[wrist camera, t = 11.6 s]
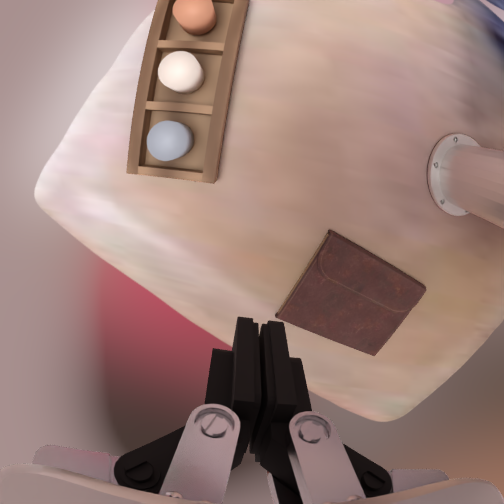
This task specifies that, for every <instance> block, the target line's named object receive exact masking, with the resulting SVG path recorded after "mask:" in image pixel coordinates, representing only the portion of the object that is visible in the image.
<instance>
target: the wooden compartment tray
mask: <svg viewBox="0 0 504 504" xmlns="http://www.w3.org/2000/svg"><path fill="white" fill-rule="evenodd" d="M175 2H176V0H158V2H157V5H156V9H155V12H154V16H153V19H152V23H151V27H150V31H149V35H148V39H147V43H146V47H145V52H144V56H143V61H142V66H141V71H140V76H139V81H138V87H137V93H136V99H135V105H134V111H133V118H132V126H131V134H130V142H129V151H128V161H127V173H128V174H138V175H148V176H157V177H166V178H175V179H183V180H191V181H199V182H206V183H213V184H214V183H215V182H216V181H217V175H218V169H219V162H220V155H221V149H222V143H223V136H224V130H225V124H226V118H227V112H228V106H229V101H230V95H231V89H232V84H233V78H234V73H235V68H236V63H237V57H238V52H239V47H240V42H241V38H242V33H243V28H244V23H245V19H246V14H247V9H248V5H249V0H212V3H213V7H214V10H215V14H216V23H215V25H214V27H213V28H212V29H211V30H210V31H208V32H207V33H204V34H201V35H191V34H188V33H186V32H185V31H184V30H183V29H182V27H181V26H180V24H179V23H178V21H177V19H176V18H175V16H174V15H173V5H174V3H175ZM176 51H185V52H188V53H190V54H192V55H193V56H194V57H195V58H196V60H197V61H198V62H199V64H200V65H201V67H202V68H203V70H204V81H203V83H202V85H201V86H200V87H199V88H198V89H197V90H196V91H194V92H192V93H189V94H180V93H177V92H175V91H174V90H172V89H170V88H169V87H167V86H165V85H164V84H163V83H162V82H161V81H160V79H159V76H158V68H159V65H160V63H161V61H162V60H163V59H164V58H165V57H166V56H167V55H169V54H170V53H173V52H176ZM162 121H174V122H179V123H183V124H185V125H187V126H188V127H189V128H190V129H191V131H192V133H193V136H194V143H193V146H192V148H191V150H190V151H189V152H188V153H187V154H186V155H184V156H182V157H180V158H176V159H173V160H169V161H162V160H158V159H156V158H155V157H153V156H152V155H151V153H150V152H149V150H148V147H147V136H148V133H149V131H150V130H151V128H152V127H153V126H154V125H156V124H157V123H159V122H162Z"/></svg>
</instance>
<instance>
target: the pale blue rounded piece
mask: <svg viewBox="0 0 504 504" xmlns="http://www.w3.org/2000/svg"><path fill="white" fill-rule="evenodd" d="M193 143H194V136H193V133H192V131H191V129H190V128H189V127H188V126H187V125H185V124H183V123H179V122H174V121H162V122H159V123H157V124H156V125H154V126H153V127H152V128H151V130H150V131H149V133H148V136H147V147H148V150H149V152H150V153H151V155H152V156H153V157H155V158H156V159H158V160H162V161H169V160H173V159H176V158H180V157H182V156H184V155H186V154H187V153H188V152H189V151H190V150H191V148H192V146H193Z"/></svg>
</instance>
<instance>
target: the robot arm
mask: <svg viewBox="0 0 504 504" xmlns="http://www.w3.org/2000/svg"><path fill="white" fill-rule="evenodd" d="M427 174H428V185H429V190H430V193H431V195H432V198H433V199H434V201H435V203H436V204H437V205H438V207H439V208H440V209H442V210H443V211H444V212H446V213H448V214H450V215H454V216H463V215H466V214H468V213H472V214H474V215H477V216H479V217H481V218H483V219H485V220H487V221H489V222H491V223H493V224H495V225H497V226H499V227H501V228H503V229H504V151H501V150H496V149H490V148H485V147H480V145H479V144H478V143H477V142H476V141H475V140H474V139H473V138H471V137H470V136H467V135H465V134H450V135H447V136H445V137H444V138H442V139H441V140H440V141H439V142H438V143H437V145H436V146H435V148H434V149H433V151H432V154H431V156H430V160H429V164H428V173H427ZM248 444H250V453H251V454H255V462H260V465H261V466H262V467H263V468H265V469H266V470H267V478H268V482H269V486H270V491H271V495H272V499H273V503H274V504H504V498H503V496H502V495H501V493H500V492H499V490H498V489H497V488H496V487H495V486H494V485H493V484H492V483H491V482H489V481H486V480H482V479H476V478H457V479H451V480H449V478H448V476H447V475H446V474H445V472H443V471H441V470H438V469H414V470H413V469H410V470H409V469H392V470H391V471H386V470H385V469H383V468H382V467H381V466H379V465H377V464H376V463H374V462H372V461H370V460H369V459H367V458H366V457H364V456H362V455H361V454H359V453H357V452H356V451H354V450H352V449H351V448H349V447H348V446H346V445H345V444H343V443H342V442H341V439H340V437H339V434H338V432H337V430H336V428H335V425H334V424H333V423H332V421H331V420H330V419H329V418H328V417H326V416H325V415H323V414H321V413H317V412H313V411H312V409H311V404H310V399H309V394H308V389H307V384H306V379H305V374H304V370H303V365H302V361H301V359H300V358H292V357H289V351H288V345H287V339H286V333H285V327H284V323H283V322H277V321H268V323H267V324H262V326H261V330H260V335H259V329H258V323H253V318H245V317H238V319H237V324H236V330H235V336H234V342H233V348H232V351H227V350H220V349H214V348H213V351H212V358H211V364H210V371H209V377H208V384H207V392H206V398H205V405H202V406H199V407H198V408H196V409H195V410H193V412H192V413H191V415H190V417H189V419H188V422H187V424H186V426H184V427H182V428H180V429H178V430H176V431H174V432H172V433H170V434H168V435H166V436H164V437H161V438H159V439H157V440H155V441H153V442H151V443H149V444H146V445H144V446H142V447H140V448H138V449H135V450H133V451H131V452H129V453H126V454H124V455H123V456H121V457H119V456H110V454H109V453H103V452H95V451H86V450H79V449H73V448H67V447H62V446H56V445H45V446H43V447H40V448H39V449H38V450H37V451H36V453H35V456H34V459H33V464H13V465H8V466H5V467H3V468H2V469H0V504H222V503H223V499H224V495H225V490H226V487H227V483H228V478H229V474H230V471H231V470H232V469H234V468H235V467H237V466H238V465H239V464H241V461H242V458H243V455H244V453H246V450H247V447H248Z"/></svg>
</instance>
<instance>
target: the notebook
mask: <svg viewBox="0 0 504 504" xmlns="http://www.w3.org/2000/svg"><path fill="white" fill-rule="evenodd" d="M328 232H329V233H330V234H328V233H327V235H326V236H325V238H324V240H323V241H322V243H321V245H320V246H319V248H318V249H317V251H316V253H315V254H314V256H313V258H312V259H311V261H310V262H309V264H308V266H307V267H306V269H305V270H304V272H303V274H302V275H301V277H300V278H299V280H298V281H297V283H296V285H295V286H294V288H293V289H292V291H291V292H290V294H289V295H288V297H287V299H286V300H285V302H284V303H283V305H282V306H281V308H280V309H279V311H278V312H277V314H275V317H276V318H278V319H281V320H283V321H286V322H288V323H291V324H293V325H295V326H298V327H300V328H303V329H305V330H308V331H310V332H313V333H315V334H318V335H320V336H323V337H325V338H328V339H330V340H333V341H336V342H338V343H341V344H343V345H346V346H349V347H351V348H354V349H357V350H359V351H362V352H365V353H367V354H370V355H373V356H375V355H376V354H377V353H378V351H379V350H380V349H381V348H382V347H383V345H384V344H385V343H386V342H387V341H388V339H389V338H390V337H391V336H392V334H393V333H394V332H395V331H396V329H397V328H398V327H399V325H400V324H401V323H402V322H403V320H404V319H405V318H406V316H407V315H408V314H409V312H410V311H411V310H412V308H413V307H414V306H415V305H416V304H417V303H418V302H419V300H420V299H421V298H422V296H423V295H424V293H425V292H426V287H425V286H424V285H423V284H421V283H419V282H418V281H416V280H415V279H413V278H411V277H410V276H408V275H407V274H405V273H403V272H402V271H400V270H398V269H397V268H395V267H393V266H392V265H390V264H388V263H387V262H385V261H383V260H382V259H380V258H378V257H377V256H375V255H373V254H371V253H370V252H368V251H366V250H365V249H363V248H361V247H359V246H358V245H356V244H354V243H352V242H351V241H349V240H347V239H345V238H344V237H342V236H340V235H338V234H336V233H335V232H333V231H331V230H328Z"/></svg>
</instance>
